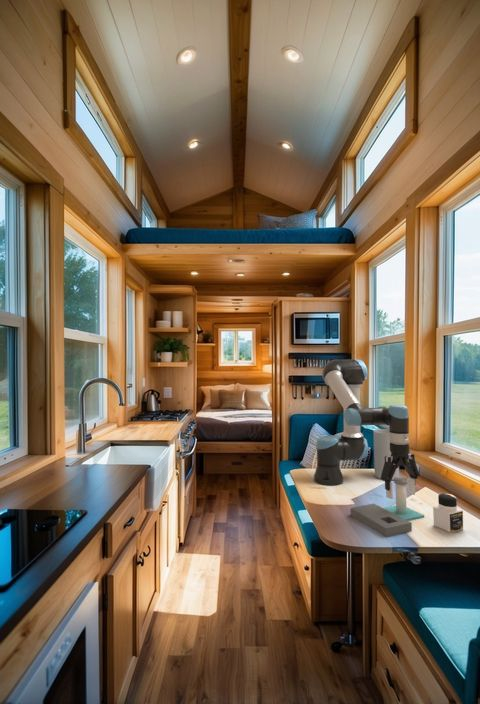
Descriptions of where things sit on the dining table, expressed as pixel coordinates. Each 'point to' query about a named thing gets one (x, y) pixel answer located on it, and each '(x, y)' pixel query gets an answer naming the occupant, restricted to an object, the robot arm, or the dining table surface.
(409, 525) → the grey socket plate
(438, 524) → the medicine bottle
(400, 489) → the plug
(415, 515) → the mat
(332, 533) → the dining table surface
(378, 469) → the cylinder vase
